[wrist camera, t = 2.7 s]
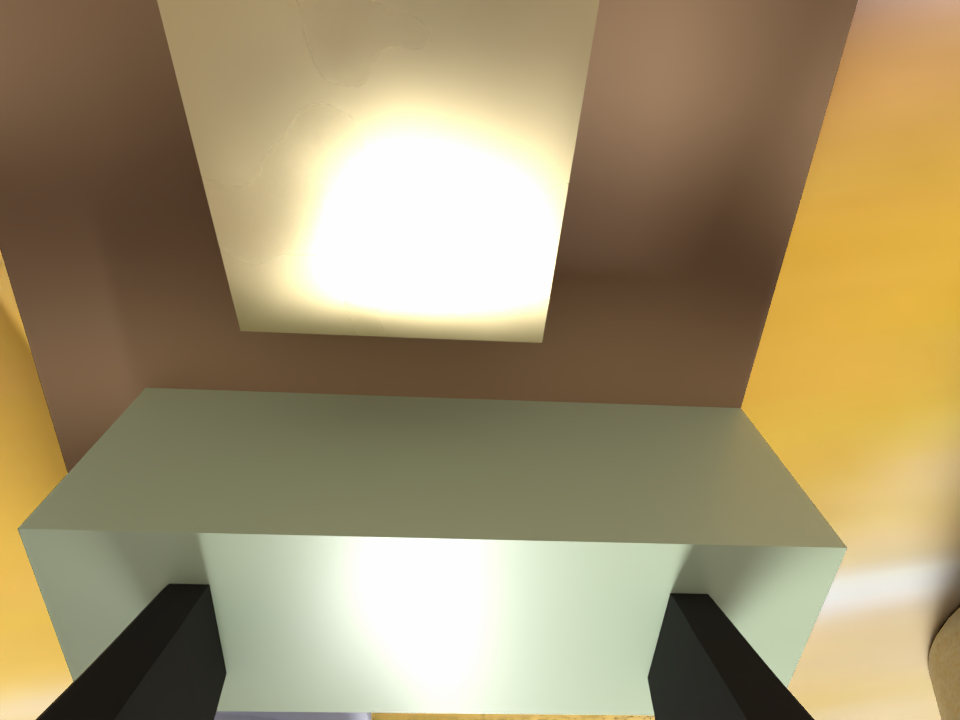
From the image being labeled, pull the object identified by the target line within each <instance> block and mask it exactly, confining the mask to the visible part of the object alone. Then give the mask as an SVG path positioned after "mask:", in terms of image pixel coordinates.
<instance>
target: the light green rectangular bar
mask: <svg viewBox="0 0 960 720" xmlns="http://www.w3.org/2000/svg"><path fill="white" fill-rule="evenodd" d="M18 531H19V534H20V536H21V539H22V542H23V545H24V547H25V550H26V553H27V556H28V558H29V561H30V564H31V566H32V569H33V572H34V575H35V577H36V580H37V583H38V586H39V588H40V591H41V594H42V597H43V599H44V602H45V605H46V608H47V610H48V613H49V616H50V619H51V621H52V624H53V627H54V629H55V632H56V635H57V638H58V640H59V643H60V646H61V649H62V651H63V654H64V657H65V660H66V662H67V665H68V668H69V671H70V673H71V676H72V679H73V682H74V681H75V680H76V679H77V678H78V677H79V676H80V675H81V674H82V673H83V672H84V671H85V670H86V669H87V668H88V667H89V666H90V665H91V664H92V663H93V662H94V661H95V660H96V659H97V658H98V657H99V655H100V654H101V653H102V652H103V651H104V650H105V649H106V648H107V647H108V646H109V645H110V644H111V643H112V642H113V641H114V640H115V639H116V638H117V637H118V636H119V635H120V634H121V633H122V632H123V630H124V629H125V628H126V627H127V626H128V625H129V624H130V623H131V622H132V621H133V620H134V619H135V618H136V617H137V616H138V615H139V614H140V612H141V611H142V610H143V609H144V608H145V607H146V606H147V605H148V604H149V603H150V602H151V601H152V600H153V599H154V598H155V597H156V596H157V595H158V594H159V592H160V591H161V590H162V589H163V588H165V587H166V586H167V585H168V584H210V590H211V595H212V600H213V605H214V610H215V615H216V621H217V626H218V631H219V636H220V641H221V647H222V652H223V657H224V662H225V667H226V672H227V674H226V677H225V681H224V685H223V689H222V692H221V696H220V700H219V704H218V707H217V711H241V712H351V713H460V714H569V715H654V710H653V705H652V700H651V694H650V689H649V684H648V679H647V678H648V674H649V670H650V667H651V663H652V659H653V655H654V652H655V648H656V644H657V641H658V637H659V633H660V629H661V626H662V622H663V618H664V615H665V611H666V607H667V604H668V600H669V596H670V593H689V594H708V595H709V596H710V597H711V598H712V599H713V600H714V601H715V603H716V604H717V605H718V606H719V607H720V609H721V610H722V611H723V612H724V613H725V615H726V616H727V617H728V618H729V620H730V621H731V622H732V623H733V624H734V626H735V627H736V628H737V629H738V630H739V632H740V633H741V634H742V635H743V637H744V638H745V639H746V640H747V641H748V643H749V644H750V645H751V646H752V647H753V649H754V650H755V651H756V652H757V653H758V655H759V656H760V657H761V658H762V659H763V661H764V662H765V663H766V664H767V665H768V667H769V668H770V669H771V670H772V671H773V673H774V674H775V675H776V676H777V677H778V679H779V680H780V681H781V682H782V683H783V684H784V686H785V687H786V688H787V687H788V685H789V683H790V680H791V678H792V676H793V673H794V671H795V669H796V666H797V664H798V662H799V659H800V657H801V655H802V652H803V650H804V648H805V645H806V643H807V641H808V638H809V636H810V634H811V631H812V629H813V627H814V624H815V622H816V620H817V617H818V615H819V613H820V610H821V608H822V606H823V603H824V601H825V599H826V596H827V594H828V592H829V589H830V587H831V585H832V582H833V580H834V578H835V575H836V573H837V571H838V568H839V566H840V564H841V561H842V559H843V557H844V554H845V552H846V550H847V547H846V546H845V544H844V543H843V542H842V540H841V539H840V538H839V537H838V535H837V534H836V533H835V531H834V530H833V529H832V527H831V526H830V525H829V523H828V522H827V521H826V519H825V518H824V517H823V516H822V514H821V513H820V512H819V510H818V509H817V508H816V506H815V505H814V504H813V502H812V501H811V500H810V498H809V497H808V496H807V495H806V493H805V492H804V491H803V489H802V488H801V487H800V485H799V484H798V483H797V481H796V480H795V479H794V477H793V476H792V475H791V474H790V472H789V471H788V470H787V468H786V467H785V466H784V464H783V463H782V462H781V460H780V459H779V458H778V456H777V455H776V454H775V453H774V451H773V450H772V449H771V447H770V446H769V445H768V443H767V442H766V441H765V439H764V438H763V437H762V435H761V434H760V433H759V432H758V430H757V429H756V428H755V426H754V425H753V424H752V422H751V421H750V420H749V418H748V417H747V416H746V414H745V413H744V412H743V411H742V409H741V408H724V407H694V406H665V405H636V404H607V403H578V402H549V401H520V400H491V399H461V398H432V397H403V396H374V395H345V394H316V393H287V392H258V391H228V390H199V389H170V388H145V389H144V390H143V391H142V392H141V394H140V395H139V396H138V397H137V398H136V399H135V400H134V401H133V402H132V403H131V405H130V406H129V407H128V408H127V409H126V410H125V411H124V412H123V413H122V414H121V416H120V417H119V418H118V419H117V420H116V421H115V422H114V423H113V424H112V426H111V427H110V428H109V429H108V430H107V431H106V432H105V433H104V434H103V435H102V437H101V438H100V439H99V440H98V441H97V442H96V443H95V444H94V445H93V446H92V448H91V449H90V450H89V451H88V452H87V453H86V454H85V455H84V456H83V457H82V459H81V460H80V461H79V462H78V463H77V464H76V465H75V466H74V467H73V468H72V470H71V471H70V472H69V473H68V474H67V475H66V476H65V477H64V478H63V479H62V481H61V482H60V483H59V484H58V485H57V486H56V487H55V488H54V489H53V490H52V492H51V493H50V494H49V495H48V496H47V497H46V498H45V499H44V500H43V502H42V503H41V504H40V505H39V506H38V507H37V508H36V509H35V510H34V511H33V513H32V514H31V515H30V516H29V517H28V518H27V519H26V520H25V521H24V522H23V524H22V525H21V526H20V527H19V528H18Z"/></svg>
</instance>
